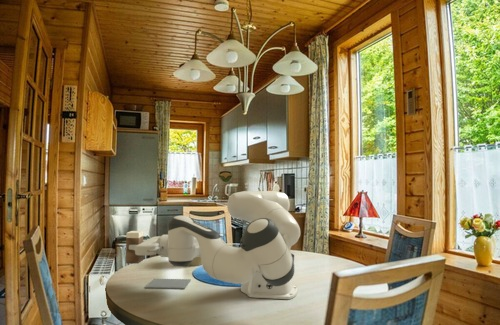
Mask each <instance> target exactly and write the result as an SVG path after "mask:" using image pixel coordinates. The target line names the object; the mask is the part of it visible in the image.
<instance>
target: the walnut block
mask: <svg viewBox="0 0 500 325" xmlns="http://www.w3.org/2000/svg"><path fill="white" fill-rule="evenodd" d="M125 233H126V234H125V236H126V237H125V239H126V240H125V264H131V265H132V264H135V265H136V264H137V265H139V264H140V263H141V262H142V261H144V260H143V259H144V255H135V250H129V245H131V244H135V245H138V244H140V243H142V242H143V241H144V230H130V231H128V232H125Z"/></svg>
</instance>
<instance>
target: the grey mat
mask: <svg viewBox="0 0 500 325" xmlns="http://www.w3.org/2000/svg"><path fill="white" fill-rule="evenodd" d="M190 283H191V278H153V279H151V281H150V282H148V283H147V285H145V286H144V289H150V290H151V289H155V290H156V289H157V290H159V289H160V290H186V288H187V287H188V286H189V284H190Z"/></svg>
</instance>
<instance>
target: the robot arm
mask: <svg viewBox="0 0 500 325" xmlns="http://www.w3.org/2000/svg"><path fill="white" fill-rule="evenodd" d="M226 204H227V206H226V207H227V211H228V214H229V215H230V216H231V217H232V218H235V219H239V220H243V221H245V222H248V223H249V224H248V225H247V227H246V228H245V229H244V231H243V233H242V236H241V238H240V240H239V247H236V246H234V245H233V246H232V245H229V244H227V243H226V242H225V241H224V240H223V238H222V237H221V235H220V233H219V232H218V231H216V230H214V229H213V228H211V227H208V226H207V225H204V224H203V223H200V222H197V221H196V220H194V219H193V218H192V217H190V216H187V215H175V216H173V217H172V218H171V219H170V220H169V221H168V222H167V234H162V235H159V236H157V235H156V236H151V237H150V238H148V239H146V240H143V242H142V243H140V244H138V245H135V244H131V245H129V250H135V255H143V256H155V255H157V254H158V255H159V256H160V257H161V258H168V262H169V263H170V264H171V265H172V266H173V267H188V266H190V265H189V264H190V263H191V262H192V261H193V258H195V257H201V262H202V265H201V266H202V269H203V270H204V271H205V273H206V274H207V275H208V276H209V277H211V278H212V279H215V280H217V281H218V280H219V281H220V282H224V283H229V284H234V285H235V284H236V285H241V286H240V288H239V289H240V291H241V292H242V293H243V294H245V295H247V296H248V297H249V298H256V299H257V298H258V299H259V298H260V299H275V300H291V299H293V298H295V297H296V296H297V295H298V293H299V290H298V289H299V288H298V287H297V286H296V285H294V284H293V281H292V279H293V277H294V275H295V254H293V253H292V250H291V248H292V246H294V245H296V244H297V242H298V241H299V239H300V237H301V228H300V225H299V223H298V221H297V220H296V219H295V218H294V216H293V215H292V214H291V213H290V212H289V211H290V208H291V207H290V205H291V202H290V199H289V197H288V195H287V194H286V193H284V192H281V191H277V190H276V191H275V190H250V191H249V190H243V191H238V192H234V193H231V195H230V196H229V197H228V200H227V203H226Z"/></svg>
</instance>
